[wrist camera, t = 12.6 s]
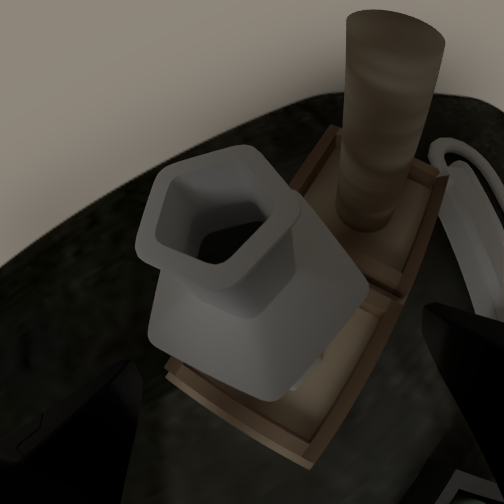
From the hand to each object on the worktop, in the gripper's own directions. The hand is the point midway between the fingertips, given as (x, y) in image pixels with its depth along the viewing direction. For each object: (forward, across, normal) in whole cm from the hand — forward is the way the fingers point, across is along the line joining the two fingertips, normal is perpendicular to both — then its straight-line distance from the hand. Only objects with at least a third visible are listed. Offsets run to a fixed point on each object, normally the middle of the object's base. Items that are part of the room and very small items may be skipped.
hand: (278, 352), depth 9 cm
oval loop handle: (+10, -16, +4) cm, 20 cm away
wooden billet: (+13, -7, 0) cm, 15 cm away
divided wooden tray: (+11, -3, +3) cm, 12 cm away
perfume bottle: (+7, 0, +6) cm, 9 cm away
